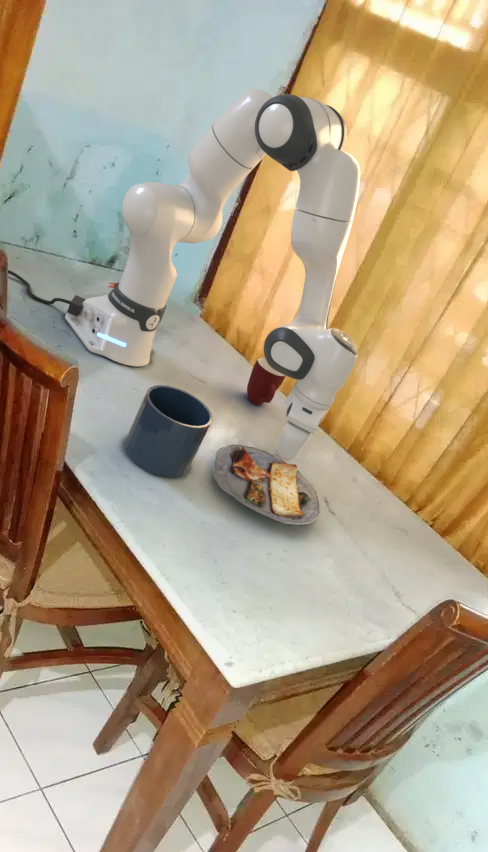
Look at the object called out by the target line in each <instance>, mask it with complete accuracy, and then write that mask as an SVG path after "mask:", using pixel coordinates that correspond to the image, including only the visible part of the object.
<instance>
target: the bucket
mask: <svg viewBox="0 0 488 852" xmlns="http://www.w3.org/2000/svg"><path fill="white" fill-rule="evenodd" d="M213 419H214V417H213V415H212V412H211V410H210V409H209V407H208V406H207V405H206V404H205V403H204V402H203V401H202V400H200V399H199V398H198V397H196V396H195V395H193V394H192V393H189V392H187V391H186V390H183V389H180V388H178V387H174V386H171V385H164V384H157V385H153V386H150V387H149V388H148V389H147V390H146V392H145V394H144V396H143V399H142V401H141V403H140V405H139V408H138V410H137V413H136V414H135V417H134V420H133V422H132V424H131V427H130V429H129V431H128V433H127V435H126V438H125V441H124V445H123V448H124V452H125V454H126V456H127V457H128V458H129V459H130V460H131V462H132V463H133V464H135V465H136V466H137V467H138V468H140V469H142V471H143V470H144V471H145V472H147V473H149V474H152V475H154V476H157V477H159V478H166V479H177V478H180V477H181V478H182V477H184V475H186V474H187V473H188V471H189V469H190V467H191V465H192V463H193V461H194V459H195V458H196V456H197V453H198V451H199V449H200V447H201V446H202V443H203V441H204V439H205V437H206V435H207V433H208V431H209V429H210V427H211V425H212V423H213Z"/></svg>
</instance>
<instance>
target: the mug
mask: <svg viewBox="0 0 488 852" xmlns="http://www.w3.org/2000/svg"><path fill="white" fill-rule="evenodd" d="M286 377H287V376H286V375H284V374H282V373H280V372H278V371H276V370H274V369H273V368H271V367H270V365H269V364H268V363H267V361H266V359H265V357H262V356H261V357H257V360H256V361H255V363H254V364H253V367H252V369H251V373H250V376H249V378H248V382H247V385H246V397H247V400H248V401H249V402H250V403H252V404H254V405H256V406H258V405H259V406H261V405H262V404H264V403H266V404H268V403H271V402H272V401H273V399H274V397H275V394H276V392H277V391H278V389H279V388H280V387H281V385H282V384H283V382H284V381H285V379H286Z"/></svg>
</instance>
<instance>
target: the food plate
mask: <svg viewBox="0 0 488 852" xmlns="http://www.w3.org/2000/svg"><path fill="white" fill-rule="evenodd" d="M213 469H214V470H213V473H212V476H213V478H214V480H215V481H216V483H217V484H218V486H219V487H220V488H221V489H222V491H223V492H225V493H226V494H227V495H230V496H232V497H233V498H234V499H235V500H237V502H239V503H240V504H242V505H243V506H245V507H246V508H249V509H251V511H253V512H255V513H258V514H260V515H263V516H264V517H267V518H269V519H272V520H275V521H278V522H280V523H282V524H286V525H294V526H296V525H299V526H300V525H309V524H311V523H313V522H315V521H316V520H317V519H319V517H320V513H321V511H320V509H321V508H320V501H319V495H318V492H317V490H316V489H315V487H314V486H313V485H312V484H311V482H310V481H309V480H308V479H307V478H306V477H304V475H303V474H302V473H301V471H300V470H298V465H297V464H296V463H287V461H285V460H283V459H281V460H278V459H276V458H274V454H271V453H270V452H268V451H266V450H262V449H259V448H257V447H253V446H248V445H241V444H229V445H227V446H223V447H221V448H219V449H217V450H216V454H215V460H214V467H213Z"/></svg>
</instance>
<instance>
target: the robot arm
mask: <svg viewBox="0 0 488 852" xmlns="http://www.w3.org/2000/svg"><path fill="white" fill-rule="evenodd" d="M347 138H348V131H347V125H346V122H345V119H344V118H343V116H342V115H341V114H340V112H338V110H337V109H336V108H334V107H332V106H331V105H328V104H326V103H323V102H321V101H319V100H317V99H315V98H311V97H304V96H297V95H295V94H293V93H292V94H291V93H283V94H278V95H275V96H272V95H271V94H270V93H268V92H267V91H265V90H263V89H258V88H253V89H250V90H248V91H245V92H244V93H243V94H242V95H240V96H239V97H238V98H237V99H236V100H235V101H233V102H232V103H231V104H230V105H229V106H228V107H227V108H226V109H225V110H224V111H223V112H222V113H221V114H220V115H219V116H217V118H216V120H215V121H214V122H213V123H212V124H211V125H210V127H209V128H208V129H207V130H206V131H205V133H204V134H203V135H202V136H201V138H200V139H199V140H198V141H197V142H196V144H194V146H193V147H192V148H191V150H190V151H189V153H188V155H187V156H188V157H187V163H188V169H189V171H188V174H187V176H186V177H185V179H183V181H182V182H180V183H178V184H177V185H174V184H169V183H164V182H160V181H159V182H158V181H149V182H142V183H135V184H134V185H132V186H131V187H129V189H127V191H126V193H125V195H124V197H123V200H122V204H121V205H122V206H121V212H122V219H123V222H124V224H125V226H126V228H127V229H128V231H129V239H130V241H129V242H130V244H129V252H128V257H127V260H126V263H125V266H124V269H123V271H122V275H121V278H120V280H119V282H109V283H108V284H110V285H108V286H107V288H112V289H111V290H110V292H109V293H108V294H102V295H96V296H92V297H91V296H90V297H87V298H84V297H81V296H79V295H77V294H75V295H74V296H73V298H72V299H71V300H69V299H66V298H62V297H54V298H53V299H51V300H46V299H43V298H41V297H39V296H37V295H36V294H34V293H33V292H32V291H31V285H30V283H29V282H28V281H27V280H26V279H25V278H23V277H22V276H21V275H19V274H18V273H16V272H14V271H12V270H10V269H7V270H8V273H7V274H9V275H11V276H13V277H15V278H16V279H18V280H19V281H20V282H21V283H23V284H24V285H25V286H26V289H25V290H26V291H25V292H26V294H27V295H28V296H30V297H31V298H33V299H34V300H36V301H38V302H40V303H43V304H47V305H54V304H55V303H56V302H61V303H65V304H67V305H68V308H67V311H66V313H65V316H64V319H65V320H66V321H67V323H68V324H69V326H70V327H71V329H72V330H73V331H74V333H75V334H76V335H77V336H78V338H79V339H80V341H81V342H82V344H83V345H84V346H85V347H86V348H87V350H88V351H89V352H91V353H93V354H96V355H99V356H103V357H105V358H108V359H109V360H112V361H114V362H116V363H119V364H121V365H125V366H129V367H136V368H137V367H144V366H147V365H148V364H149V363H150V361H151V354H152V350H153V343H154V339H155V336H156V332H157V329H158V327H159V325H160V323H161V321H162V319H163V317H164V314H165V312H166V309H167V305H166V304H167V302H168V299H169V297H170V295H171V293H172V290H173V287H174V285H175V283H176V281H177V277H178V271H177V269H176V265H174V263H173V251H174V247H175V246H176V244H177V243H182V244H184V243H185V244H198V243H203V242H207V241H210V240H212V239H214V238H215V237H216V236H217V235H218V233H220V230H221V228H222V225H223V209H224V207H225V205H226V202H227V201H228V199H229V197H230V196H231V195H232V194H233V192H234V191H235V190H236V189H237V188H238V187H239V185H240V184H241V183H242V182H243V181H244V180H245V178H246V177H247V176H248V175H249V174H250V173H251V172H252V171H253V170H254V169H255V167H256V166H257V165H258V164H259V163H260V162H261V161H262V160H263V159H264V158H265V156H266V155H267V156H268V157H269V158H271V159H272V160H274V161H275V162H277V163H278V164H280V165H281V166H282V167H284V168H285V169H286V170H288V171H289V172H295V171H296V172H297V174H298V177H299V183H300V184H299V190H298V195H297V199H296V203H295V208H294V210H293V211H294V212H293V216H292V220H291V229H290V230H291V231H290V245H291V248H292V250H293V251H294V253H295V255H296V256H297V257H298V258H299V259H300V261H301V263H302V264H303V267H304V273H305V275H304V276H305V278H304V283H303V289H302V294H301V299H300V305H299V309H298V312H297V315H296V316H295V318H294V319H293V320H292V321H291V322H290V323H286V324H283V325H281V326H279V327H276V328H274V329H273V330H271V331H270V332H269V333H268V334H267V335H266V337H265V340H264V342H263V356H264V358H265V359H266V361H267V363H268V364H269V365H270V367H271V368H273V369H274V370H276V371H278V372H280V373H282V374H284V375H286V377H289V378H290V379H294V380H296V381H295V383H294V384H293V386H292V388H291V390H290V391H289V393H288V395H287V397H286V398H285V401H284V403H285V407H286V416H285V420H284V423H283V427H282V430H281V432H280V436H279V439H278V443H277V446H276V448H275V451H274V454H273V456H274V458H276V459H278V460H283V461H285V462H289V463H290V462H291V461H292V460H293V459H294V458H295V457H296V456H297V454H298V453H299V451H300V450H301V448H302V447H303V446H304V444H305V442H306V441H307V440H308V438H309V437H310V435H311V434H315V432H316V431H317V430H318V428H319V426H320V424H321V423H322V422H324V419H325V418H326V416H327V414H328V412H329V411H330V409H331V408H332V406H333V404H334V402H335V400H336V399H335V398H336V397H337V396H336V395H337V394H338V392H339V391H340V390H341V389H342V388H343V387H344V386H345V384H346V382H347V381H348V379H349V377H350V375H351V373H352V371H353V369H354V367H355V365H356V363H357V360H358V357H359V356H358V355H359V350H358V347H357V344H356V343H355V341H354V340H353V339H352V338H351V337H350V336H349V335H348V334H347V333H346V332H344V331H342V330H341V329H338V328H336V327H331V328H330V325H329V323H330V321H329V320H330V312H331V307H332V303H333V299H334V293H335V288H336V284H337V279H338V273H339V268H340V265H341V261H342V258H343V255H344V252H345V249H346V246H347V243H348V239H349V235H350V233H351V229H352V225H353V222H354V218H355V213H356V209H357V203H358V199H359V198H358V197H359V191H360V182H361V167H360V165H359V162H358V161H357V159H356V158H355V157H354V156H353V155H352V154H350V153H348V152H346V151H344V150H345V147H346V143H347Z"/></svg>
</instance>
